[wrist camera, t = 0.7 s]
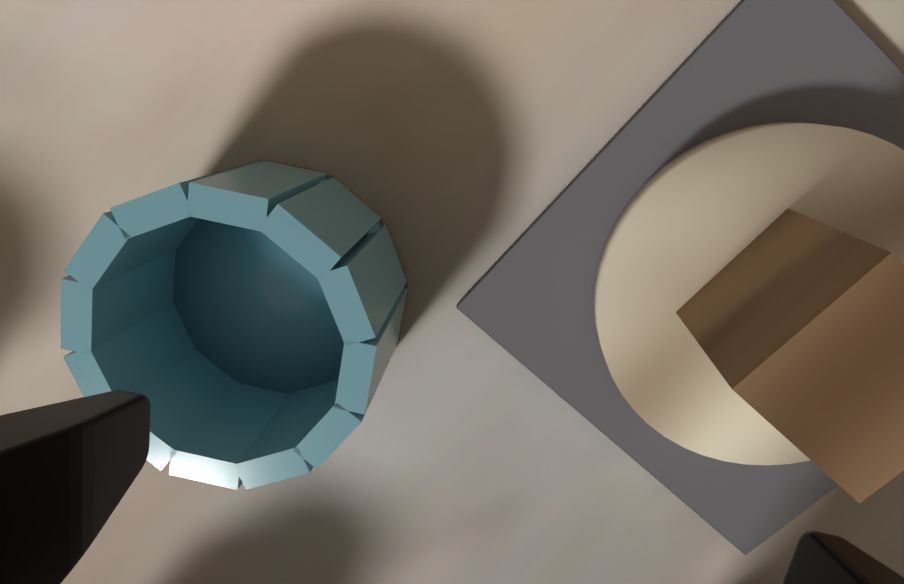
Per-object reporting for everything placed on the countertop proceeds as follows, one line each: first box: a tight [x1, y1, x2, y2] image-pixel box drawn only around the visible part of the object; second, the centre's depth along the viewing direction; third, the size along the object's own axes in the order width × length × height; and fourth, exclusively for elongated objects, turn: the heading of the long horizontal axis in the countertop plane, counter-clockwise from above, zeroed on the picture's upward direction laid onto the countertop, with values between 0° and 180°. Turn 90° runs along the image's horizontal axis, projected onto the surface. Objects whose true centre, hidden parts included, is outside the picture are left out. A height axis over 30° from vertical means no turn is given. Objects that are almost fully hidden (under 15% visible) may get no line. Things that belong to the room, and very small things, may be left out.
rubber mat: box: [456, 0, 904, 555], centre depth 19 cm, size 13×13×1 cm
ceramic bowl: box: [61, 161, 408, 490], centre depth 19 cm, size 8×8×5 cm
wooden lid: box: [593, 122, 904, 504], centre depth 16 cm, size 10×10×6 cm
